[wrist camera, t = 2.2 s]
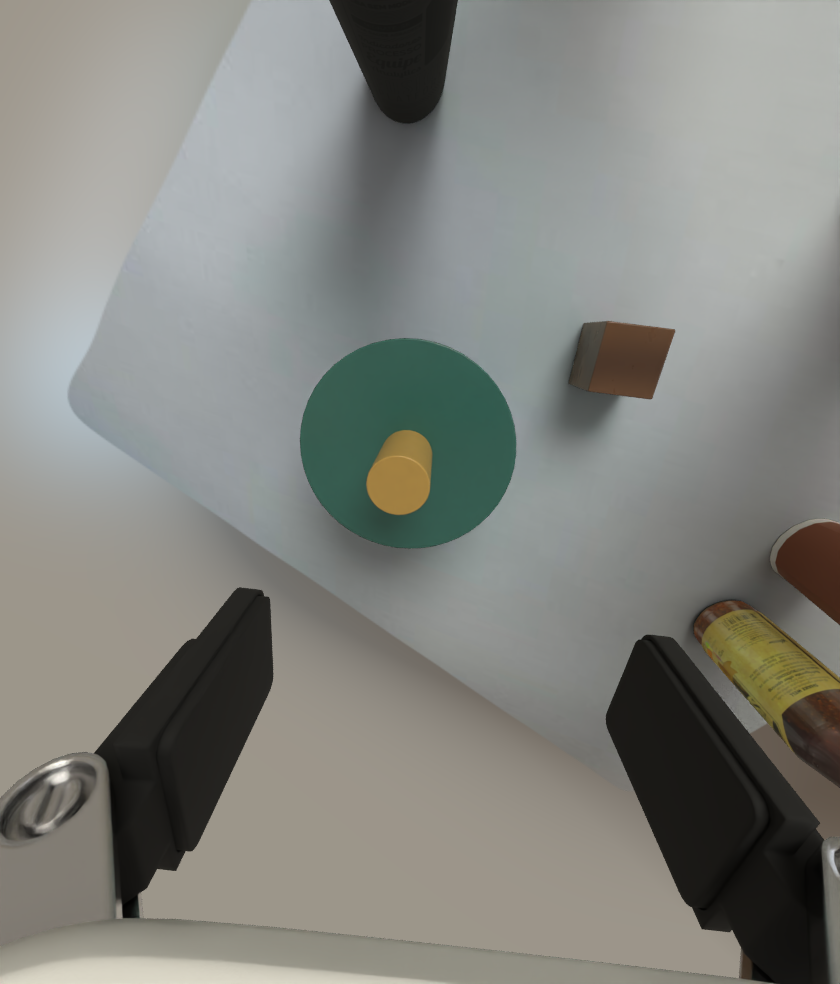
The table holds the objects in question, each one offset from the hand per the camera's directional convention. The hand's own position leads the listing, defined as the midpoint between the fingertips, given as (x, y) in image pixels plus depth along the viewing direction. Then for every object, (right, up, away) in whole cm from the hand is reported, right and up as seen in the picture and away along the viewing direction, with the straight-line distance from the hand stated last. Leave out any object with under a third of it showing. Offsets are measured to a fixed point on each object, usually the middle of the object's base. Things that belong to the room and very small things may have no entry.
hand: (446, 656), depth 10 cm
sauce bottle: (+30, -9, +29) cm, 43 cm away
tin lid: (-1, +7, +15) cm, 16 cm away
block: (+14, +15, +20) cm, 28 cm away
